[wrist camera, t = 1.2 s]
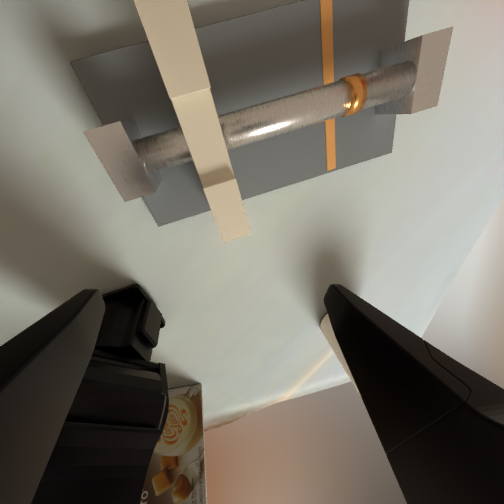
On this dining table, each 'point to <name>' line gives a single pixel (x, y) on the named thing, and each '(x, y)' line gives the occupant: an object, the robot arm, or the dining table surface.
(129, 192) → the steel pipe
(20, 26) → the dining table surface
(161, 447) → the coffee box
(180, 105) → the cream flat bar
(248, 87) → the rail board
